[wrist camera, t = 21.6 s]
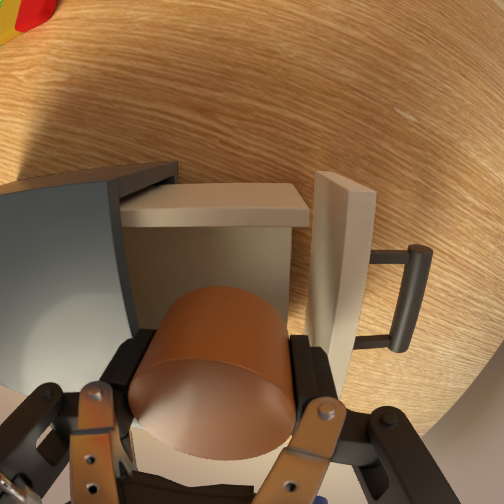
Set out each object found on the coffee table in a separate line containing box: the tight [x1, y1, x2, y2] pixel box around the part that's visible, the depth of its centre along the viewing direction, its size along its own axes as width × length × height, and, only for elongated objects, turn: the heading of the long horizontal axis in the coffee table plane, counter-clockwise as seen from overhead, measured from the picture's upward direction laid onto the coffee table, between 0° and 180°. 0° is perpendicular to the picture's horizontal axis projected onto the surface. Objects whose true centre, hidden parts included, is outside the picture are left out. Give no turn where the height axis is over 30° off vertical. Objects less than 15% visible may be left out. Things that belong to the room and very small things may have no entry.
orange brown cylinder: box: [128, 286, 297, 460], centre depth 11 cm, size 6×6×4 cm
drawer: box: [119, 171, 433, 401], centre depth 17 cm, size 20×13×8 cm
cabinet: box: [0, 161, 178, 430], centre depth 17 cm, size 16×14×10 cm
